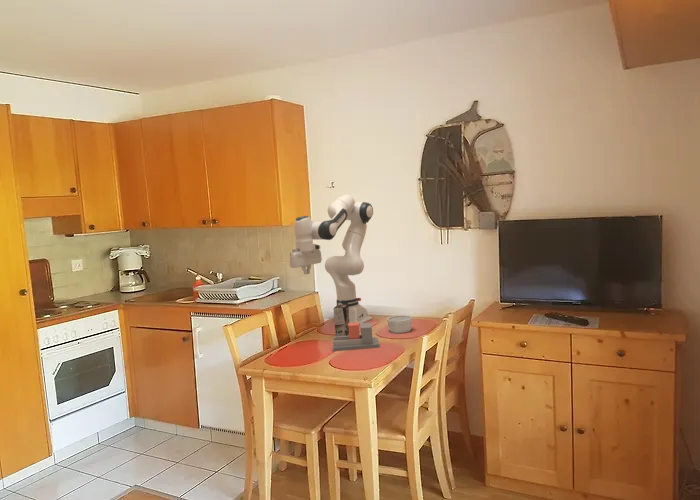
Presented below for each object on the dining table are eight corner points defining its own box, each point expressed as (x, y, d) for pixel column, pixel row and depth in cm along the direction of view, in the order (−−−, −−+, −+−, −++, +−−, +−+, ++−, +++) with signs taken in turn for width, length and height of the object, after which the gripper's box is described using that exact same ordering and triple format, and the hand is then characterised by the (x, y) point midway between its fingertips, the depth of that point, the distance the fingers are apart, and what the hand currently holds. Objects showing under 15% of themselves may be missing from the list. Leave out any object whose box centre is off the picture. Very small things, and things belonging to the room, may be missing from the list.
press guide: (333, 351, 262) (331, 331, 261) (333, 343, 276) (332, 324, 275) (379, 347, 263) (378, 327, 262) (377, 340, 277) (376, 321, 276)
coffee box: (347, 338, 284) (345, 307, 283) (335, 338, 286) (332, 308, 284) (351, 334, 293) (348, 304, 292) (339, 334, 295) (336, 304, 293)
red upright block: (349, 344, 266) (348, 325, 265) (349, 340, 272) (348, 323, 271) (360, 343, 266) (358, 324, 265) (359, 340, 272) (358, 322, 271)
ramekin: (409, 334, 284) (409, 320, 283) (385, 333, 288) (384, 320, 288) (415, 327, 296) (414, 315, 296) (391, 327, 301) (390, 315, 300)
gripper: (294, 250, 276) (296, 277, 277) (322, 245, 292) (324, 271, 293) (285, 250, 280) (288, 277, 282) (313, 245, 296) (316, 271, 297)
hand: (306, 274), depth 287 cm, fingers closed
